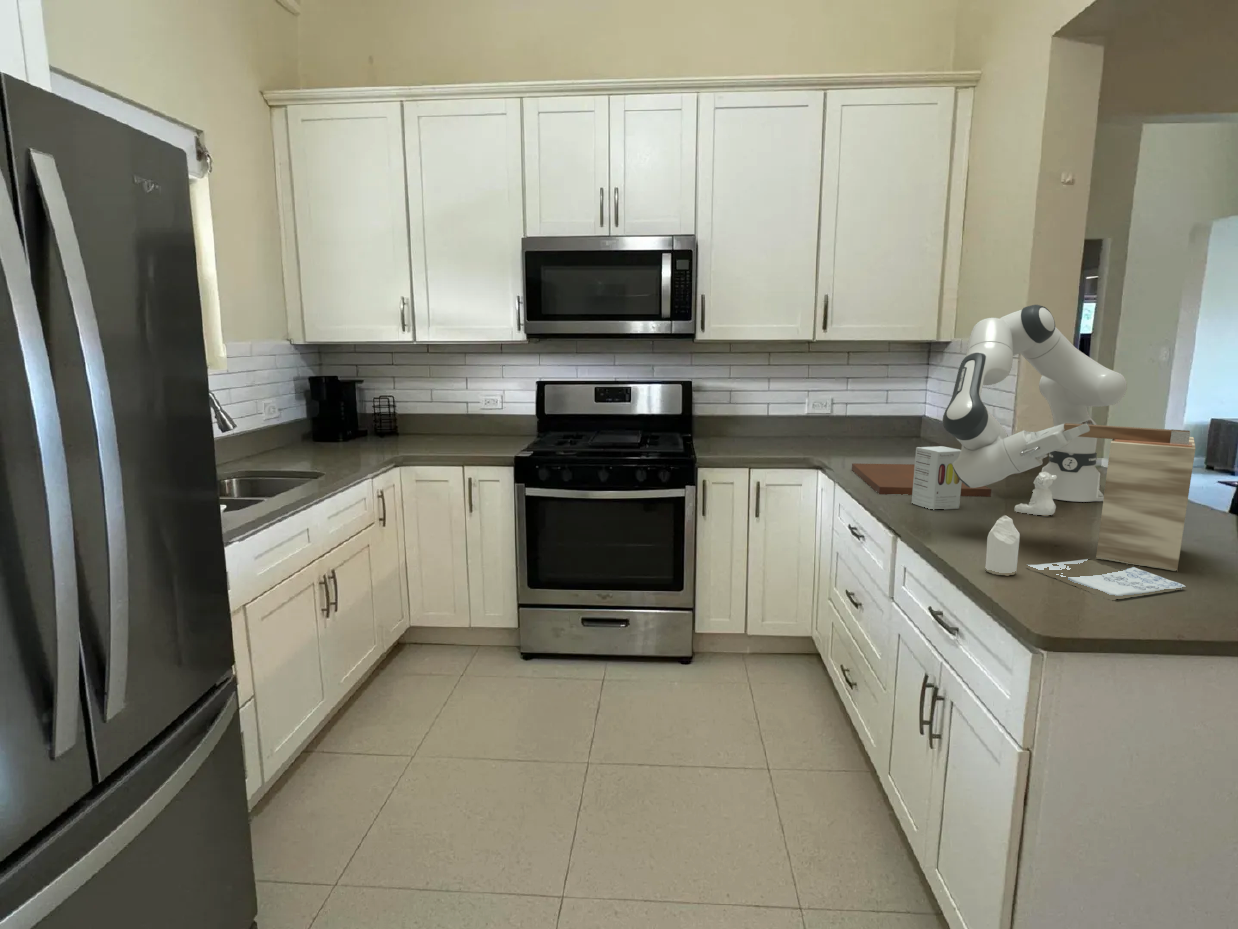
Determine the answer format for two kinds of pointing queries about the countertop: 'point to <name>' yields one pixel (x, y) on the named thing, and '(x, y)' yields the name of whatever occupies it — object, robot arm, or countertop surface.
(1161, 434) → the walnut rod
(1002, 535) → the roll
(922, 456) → the supplement box
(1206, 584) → the countertop surface
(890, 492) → the reddish brown board
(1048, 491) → the white creature statuette
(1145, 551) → the birch shelf
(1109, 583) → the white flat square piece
